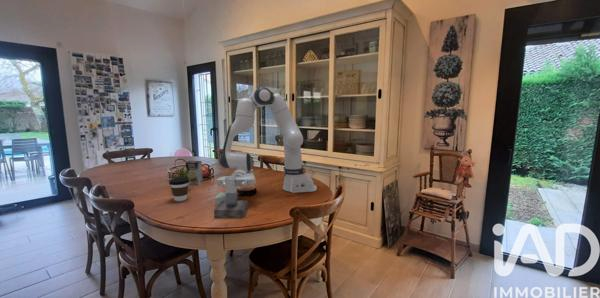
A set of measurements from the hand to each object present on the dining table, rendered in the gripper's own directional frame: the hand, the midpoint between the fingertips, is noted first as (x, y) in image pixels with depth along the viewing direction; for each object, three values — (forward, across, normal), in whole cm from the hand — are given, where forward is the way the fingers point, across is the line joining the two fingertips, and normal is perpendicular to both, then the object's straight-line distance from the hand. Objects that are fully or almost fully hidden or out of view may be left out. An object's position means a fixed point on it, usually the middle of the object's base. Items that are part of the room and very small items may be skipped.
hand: (233, 184), depth 145 cm
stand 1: (-13, -7, +13) cm, 20 cm away
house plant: (-35, -41, +13) cm, 56 cm away
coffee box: (-51, -39, +14) cm, 66 cm away
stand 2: (+4, 0, +13) cm, 14 cm away
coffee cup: (-17, -35, +14) cm, 41 cm away
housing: (+4, 0, +9) cm, 10 cm away
